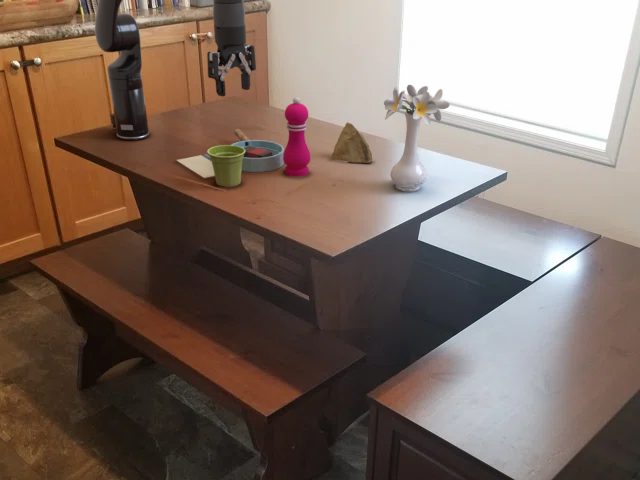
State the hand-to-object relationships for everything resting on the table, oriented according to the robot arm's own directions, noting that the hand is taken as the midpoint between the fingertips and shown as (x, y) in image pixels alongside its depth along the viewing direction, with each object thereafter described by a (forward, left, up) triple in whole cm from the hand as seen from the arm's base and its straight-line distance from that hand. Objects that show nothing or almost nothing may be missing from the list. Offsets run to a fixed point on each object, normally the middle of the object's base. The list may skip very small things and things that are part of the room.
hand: (233, 92), depth 173 cm
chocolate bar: (-2, +7, -20) cm, 21 cm away
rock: (+11, +31, -21) cm, 39 cm away
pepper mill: (+11, +12, -21) cm, 26 cm away
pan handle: (-14, +10, -18) cm, 25 cm away
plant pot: (+7, -7, -21) cm, 23 cm away
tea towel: (-7, -6, -20) cm, 22 cm away
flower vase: (+34, +31, -21) cm, 50 cm away
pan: (-2, +7, -20) cm, 21 cm away
